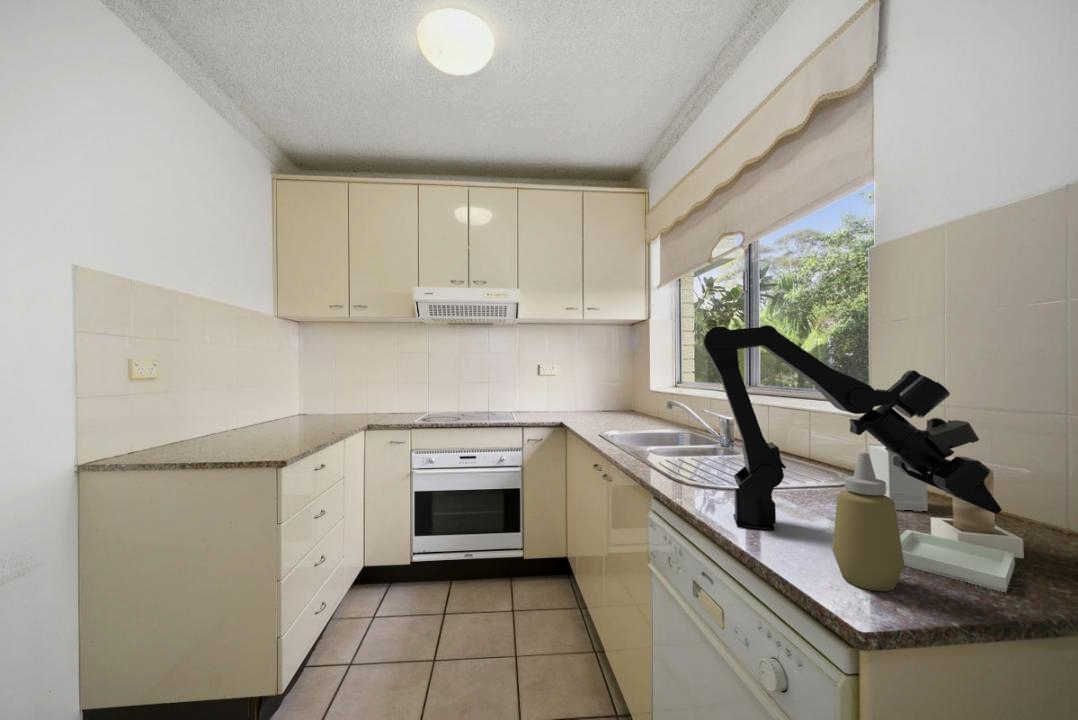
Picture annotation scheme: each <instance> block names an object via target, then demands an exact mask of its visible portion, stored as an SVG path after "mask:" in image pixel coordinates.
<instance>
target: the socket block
mask: <svg viewBox="0 0 1078 720" xmlns="http://www.w3.org/2000/svg"><path fill="white" fill-rule="evenodd" d="M930 535H934V536H939V537H943V538H948V539H953V540H957V541H962V542H966V543H971V544H975V545H980V546H984V547H989V548H994V549H998V550H1003V551H1007V552H1012V553H1014V559H1024V557H1025V556H1024V554H1025V553H1024V539H1023V538H1021V537H1019V536H1017V535H1015V534H1014V533H1012V532H1010V531H1007V530H1005V529H1003V528H1001V527H999V526H997V525H995V535H992V534H981V533H970V532H961V531H960V530H958V529H956V528H954V527H953V518H944V517H933V516H932V517H931V516H930Z"/></svg>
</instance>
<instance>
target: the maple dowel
mask: <svg viewBox="0 0 1078 720" xmlns="http://www.w3.org/2000/svg"><path fill="white" fill-rule="evenodd" d="M989 469H990V468H989ZM984 484H985V486H986V487H987V489H988V490H989V492H990V493H991V495H992V496H993V498H994V499H995V489H994V488H995V487H994V485H995V484H994V470H993V469H990V473H989V474H988V477H987V478H985V481H984ZM951 496H952V519H953V527H954V528H956V529H958V530H960V531H961V532H970V533H981V534H992V535H995V526H996V522H995V521H996V520H995V518H996V517H995V515H996V514H995V513H992V512H990V511H988V510H985V509H983V508H981V507H978V506H976V505H974V504H971V503H969V502H967V501H964V500H962V499H960V498H957V497H955V496H953V495H951Z"/></svg>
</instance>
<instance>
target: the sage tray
mask: <svg viewBox="0 0 1078 720" xmlns="http://www.w3.org/2000/svg"><path fill="white" fill-rule="evenodd" d="M900 540H901V546H902V553H903V559H904V567H907V568H908V567H909V568H910V569H911V568H912V569H916V570H918V571H923V572H925V573H930V574H934V575H937V576H938V575H939V576H941V577H945V578H948V579H952V580H955V581H959V580H960V581H959V582H963V581H964V583H966V582H968V584H970V583H971V585H974V584H975V586H977V585H979V586H978V587H981V586H983V587H982V588H985V587H987V588H986V589H989V588H990V589H989V590H992V589H993V591H996V590H997V592H1000V591H1001V592H1000V593H1003V592H1005V593H1004V594H1007V592H1006V591H1008V589H1007V588H1009V586H1010V583H1009V582H1011V580H1010V579H1011V578H1012V577H1013V572H1014V570H1015V566H1016V565H1015V557H1014V553H1012V552H1007V551H1003V550H998V549H994V548H989V547H984V546H980V545H975V544H971V543H966V542H962V541H957V540H953V539H948V538H943V537H939V536H934V535H932V534H931V533H930V534H929V533H925V532H919V531H916V530H910V529H905V531H904V532H903V533H901V534H900ZM1008 585H1009V586H1008Z"/></svg>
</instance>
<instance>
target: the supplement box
mask: <svg viewBox="0 0 1078 720" xmlns="http://www.w3.org/2000/svg"><path fill="white" fill-rule="evenodd" d="M885 448H886V447H885V446H884V445H882V446H879V445H876V446H875V445H873V446H872V445H871V446H869V456H870V459H871V463H872V466H873V470H874V473H875V477H876V479H880V480H882V481H884V482H885V483H886V494H884V495H885V496H887V497H889V498H890V499H892V500H893V501H894V503H895V507H896V511H904V510H913V511H912V512H922V511H927V512H928V511H929V510H928V509H929V507H928V505H929V504H928V484H927V483H925V482H922V481H920V480H918V479H916V478H913V477H911V476H909V475H907V474H906V473H904V472H901V471H900V470H899V469H898V468H897V467H896V466H894V465H893V458H894V457H895V456H896V455H894V454H891V453H889V452H888V451H887V450H886V449H885ZM908 470H909V469H908ZM909 471H910V470H909Z"/></svg>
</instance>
